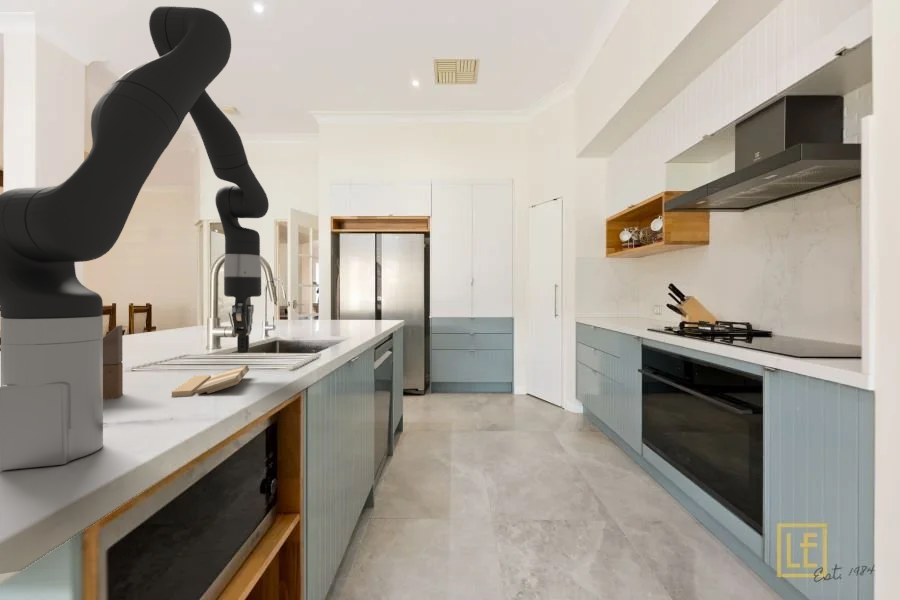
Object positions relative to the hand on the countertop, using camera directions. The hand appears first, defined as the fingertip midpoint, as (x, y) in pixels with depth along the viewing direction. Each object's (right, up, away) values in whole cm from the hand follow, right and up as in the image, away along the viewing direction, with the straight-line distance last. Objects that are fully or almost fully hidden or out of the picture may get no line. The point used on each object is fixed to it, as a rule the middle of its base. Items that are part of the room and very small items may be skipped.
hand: (243, 352), depth 94 cm
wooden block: (-20, -7, -18) cm, 28 cm away
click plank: (-1, -6, -6) cm, 8 cm away
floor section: (-2, -7, -7) cm, 10 cm away
